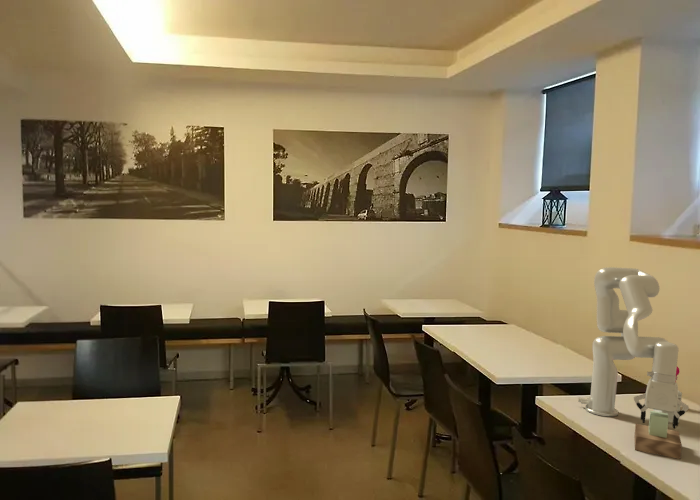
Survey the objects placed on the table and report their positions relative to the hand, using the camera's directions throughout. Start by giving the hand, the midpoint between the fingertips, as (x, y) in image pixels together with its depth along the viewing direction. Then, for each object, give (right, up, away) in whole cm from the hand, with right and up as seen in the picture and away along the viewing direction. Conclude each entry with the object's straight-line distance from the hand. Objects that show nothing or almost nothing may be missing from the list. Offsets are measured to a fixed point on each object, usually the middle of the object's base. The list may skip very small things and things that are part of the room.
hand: (658, 424), depth 216 cm
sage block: (0, -3, 0) cm, 3 cm away
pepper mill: (+29, -6, +49) cm, 57 cm away
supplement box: (+19, -7, +31) cm, 37 cm away
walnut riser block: (-1, -8, +1) cm, 8 cm away
